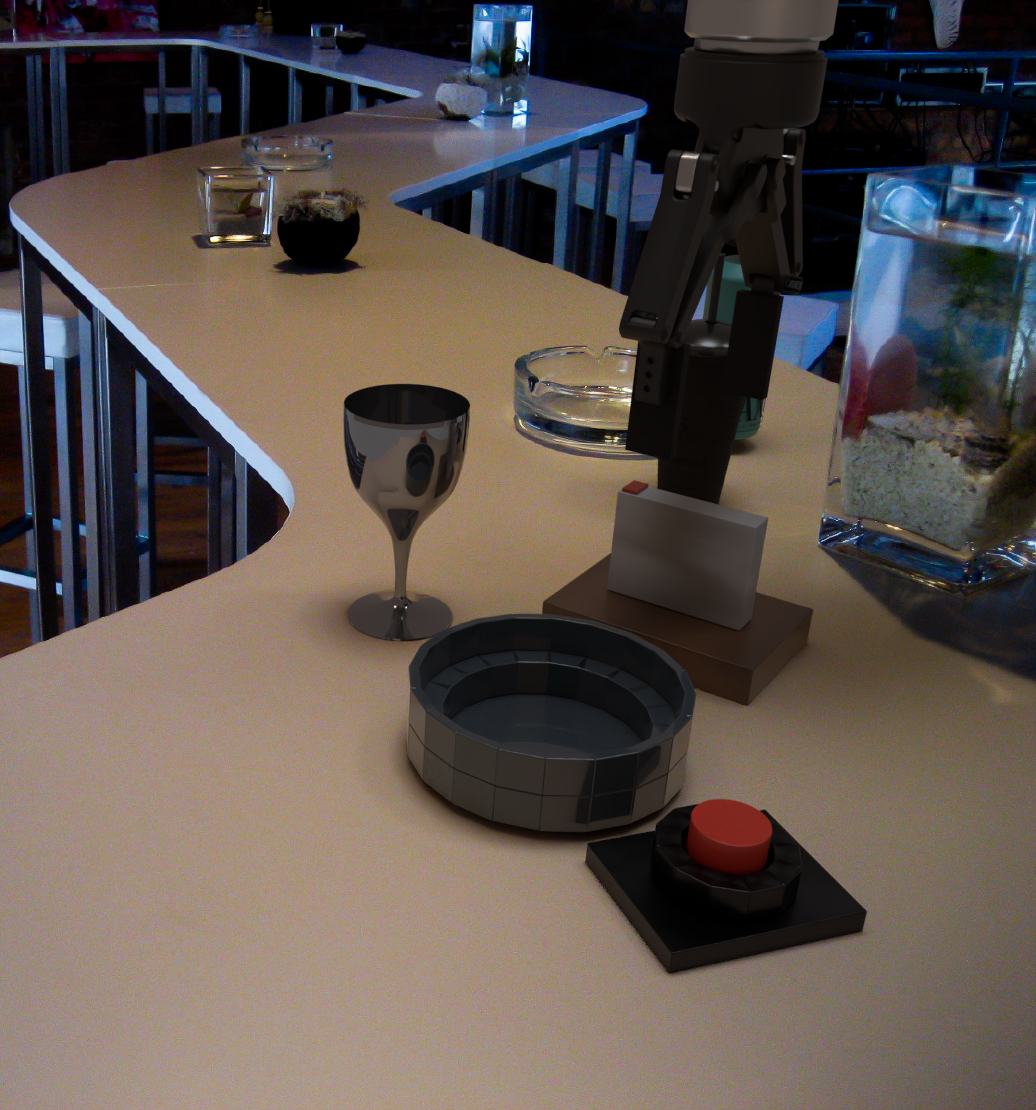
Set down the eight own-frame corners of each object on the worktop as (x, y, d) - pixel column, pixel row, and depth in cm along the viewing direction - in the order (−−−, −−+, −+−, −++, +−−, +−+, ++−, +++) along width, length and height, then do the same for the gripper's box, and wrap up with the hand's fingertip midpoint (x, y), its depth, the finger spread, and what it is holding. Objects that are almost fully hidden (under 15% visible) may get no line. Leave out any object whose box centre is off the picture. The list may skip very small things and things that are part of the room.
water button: (738, 822, 63) (743, 793, 62) (782, 869, 60) (788, 838, 59) (671, 835, 62) (676, 805, 61) (713, 883, 59) (718, 852, 58)
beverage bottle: (687, 454, 115) (718, 225, 106) (679, 429, 121) (708, 210, 112) (764, 458, 114) (801, 227, 105) (752, 432, 120) (787, 212, 111)
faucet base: (807, 642, 84) (814, 608, 83) (747, 706, 77) (753, 670, 76) (610, 581, 92) (614, 549, 91) (539, 634, 85) (542, 600, 84)
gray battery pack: (751, 619, 82) (769, 513, 78) (739, 631, 80) (756, 524, 77) (620, 579, 87) (632, 478, 84) (606, 589, 85) (617, 487, 82)
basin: (601, 670, 81) (609, 599, 79) (739, 813, 68) (753, 732, 66) (370, 706, 77) (371, 632, 75) (468, 864, 64) (473, 780, 62)
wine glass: (394, 577, 93) (400, 375, 86) (482, 614, 88) (496, 403, 81) (316, 614, 88) (316, 403, 81) (405, 656, 83) (413, 434, 76)
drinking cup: (659, 476, 110) (689, 238, 101) (749, 496, 106) (788, 251, 97) (623, 505, 104) (651, 256, 96) (717, 528, 100) (755, 270, 92)
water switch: (761, 828, 67) (770, 779, 65) (863, 931, 60) (875, 879, 58) (584, 862, 64) (590, 812, 63) (668, 974, 57) (677, 921, 56)
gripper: (773, 30, 80) (723, 363, 89) (578, 55, 62) (541, 466, 72) (900, 35, 76) (834, 384, 85) (728, 65, 58) (668, 500, 67)
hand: (699, 422), depth 78 cm, fingers open, 13 cm apart
